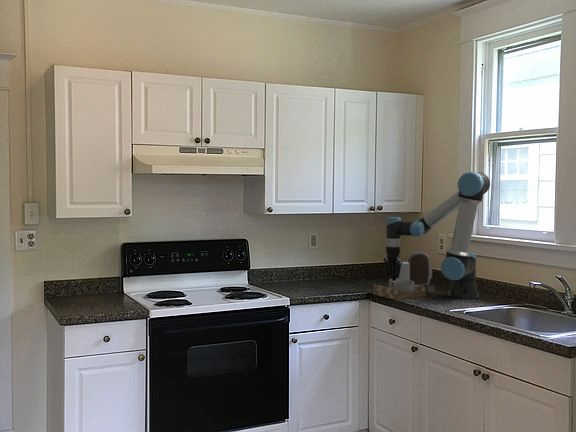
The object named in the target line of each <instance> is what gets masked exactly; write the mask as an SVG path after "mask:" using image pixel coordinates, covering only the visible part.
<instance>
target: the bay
mask: <svg viewBox="0 0 576 432" xmlns="http://www.w3.org/2000/svg"><path fill="white" fill-rule="evenodd" d="M438 280H439V279H438V278H435V279H434V281H435V283H434V284H429V285H425V286H418V285H414V292H408V293H398V289H393V288H390V287H389V286H382V285H379V284H373V295H375V296H379V297H383V298H387V299H393V300H396V301H400V300H401V301H402V300H409V299H418V298H427V297H429V298H434V297H435V287H438V286H439V283H438V282H439V281H438Z"/></svg>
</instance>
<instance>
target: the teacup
mask: <svg viewBox="0 0 576 432" xmlns="http://www.w3.org/2000/svg"><path fill="white" fill-rule="evenodd" d="M391 282H392V283H393V287H392V286H391V285H390V283H391ZM387 285H388V286H387V287H388V288H393V289H398V293H408V292H414V281H411V280H395V281H392V280H391V281H389V280H388V284H387Z"/></svg>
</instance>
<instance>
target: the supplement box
mask: <svg viewBox="0 0 576 432" xmlns="http://www.w3.org/2000/svg"><path fill="white" fill-rule="evenodd" d="M396 280H410V264H409V263H408V261H403V262H402V264H401V269H400V274H399V278H396Z"/></svg>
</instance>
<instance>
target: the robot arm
mask: <svg viewBox="0 0 576 432" xmlns="http://www.w3.org/2000/svg"><path fill="white" fill-rule="evenodd" d="M490 180H491V179H490V178H489V177H488V175H486V173H484V172H481V171H480V172H478V171H471V170H470V171H467V172H465V173H463V174H462V175H460V177H459V179H458V181H457V189H458V191H456V192H455V193H454V194H453V195H452V194H451V196H450V197H447V198H446V199H445V200H444V201H443V202H442V203H440V204H439V205H437V206H436V207H434V208H433V209H432V210H431V211H429V212H427V213H426V214H425V215H424V216H422V217H420V218H419V219H418V220H414V221H411V220H410V221H406V220H405V221H404V220H402V218H401V217H400V216H388V217H386V225H385V226H386V229H385V230H386V231H385V236H386V240H385V245H386V247H385V253H386V257H385V258H383V262H384V266H385V268H384V269H385V274H386V277H388V282H389V281H391V280H392V281H395V280H396V278H399V274H400V269H401V264H402V262H404V261H403V260H401V259H400V254H401V242H402V241H401V237H403V236H405V237H406V236H407V237H422V236H424V235H426V234H427V233H429V232H430V231H431V229H432V228H433V227H435V226H437V225H438V224H440V223H441V222H442V221H443V220H446V219H447V218H448V217H450V215H452V214H453V213H455V212H457V215H456V218H455V219H456V220H455V225H454V228H453V235H452V239H451V244H450V247H449V248H448V249H447V250H446V252H445V258H444V259H443V260H442V262H441V264H440V270H441V271H440V272H441V273H442V275H443V276H444V277H445V278H446V279H448V280H451V284H450V287H449V290H448V297H450V298H454V299H465V300H472V299H478V298H480V296H479V295H480V292H479V290H478V287H477V282H476V275H477V274H476V271H477V270H476V268H477V256H476V254H475V253H473V252H469V248H470V246H471V245H470V244H471V239H472V235H473V231H474V230H473V229H474V226H475V222H476V221H475V219H476V215H477V212H478V206H479V204H481V202H482V201H483V198H484V195H485V194H486V193H487V192H488V191H489V190H490V188H491V181H490ZM390 285H391V286H392V287H393V283H392V282H391V283H390Z"/></svg>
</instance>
